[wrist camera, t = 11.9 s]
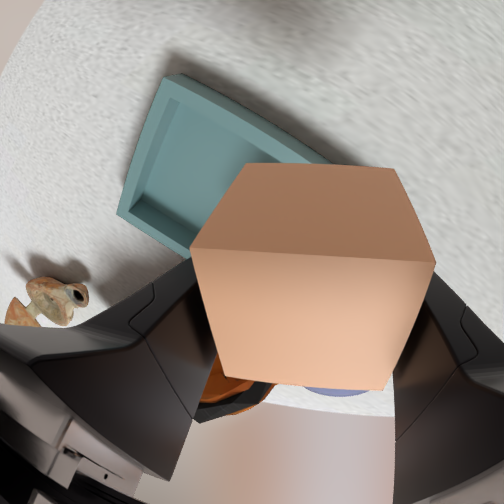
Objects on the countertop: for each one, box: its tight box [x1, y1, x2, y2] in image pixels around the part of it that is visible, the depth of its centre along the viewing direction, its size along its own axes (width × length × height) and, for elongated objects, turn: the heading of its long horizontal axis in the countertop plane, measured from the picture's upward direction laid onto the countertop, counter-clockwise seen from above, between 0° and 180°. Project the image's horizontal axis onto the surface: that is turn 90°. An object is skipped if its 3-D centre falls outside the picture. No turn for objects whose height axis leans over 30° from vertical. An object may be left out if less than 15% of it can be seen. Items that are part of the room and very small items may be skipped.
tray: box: [116, 73, 334, 259], centre depth 22 cm, size 18×12×2 cm, turn 61°
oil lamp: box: [5, 277, 89, 327], centre depth 35 cm, size 9×21×10 cm, turn 115°
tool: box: [193, 352, 277, 423], centre depth 29 cm, size 8×23×15 cm, turn 113°
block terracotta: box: [189, 163, 436, 391], centre depth 8 cm, size 4×4×4 cm
